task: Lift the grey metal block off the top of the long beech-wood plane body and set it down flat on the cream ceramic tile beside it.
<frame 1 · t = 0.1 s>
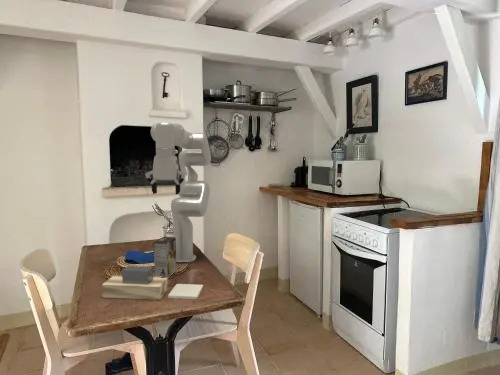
hand: (166, 193, 142), 37 cm above the table, tool pointing down, fingers open, 9 cm apart
grey metal block: (138, 281, 129), point 5 cm above the table, touching plane body
coffee box: (165, 275, 149), on the table
plane body: (135, 293, 130), on the table
tile: (186, 292, 131), on the table
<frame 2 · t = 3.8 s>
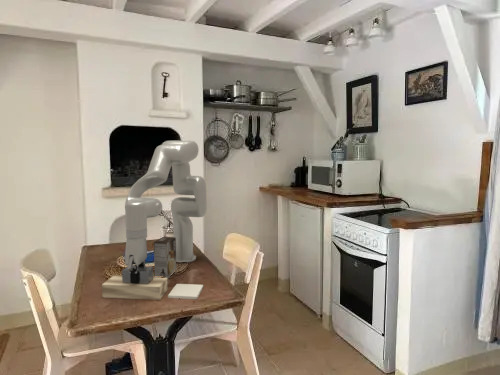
hand: (138, 279, 129), 6 cm above the table, tool pointing down, fingers closed on grey metal block, 5 cm apart
grey metal block: (138, 281, 129), point 5 cm above the table, touching gripper, plane body
everything else where it was.
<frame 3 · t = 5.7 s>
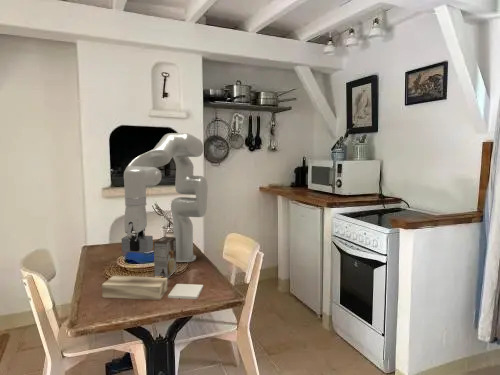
hand: (137, 248, 128), 18 cm above the table, tool pointing down, fingers closed on grey metal block, 5 cm apart
grey metal block: (137, 249, 128), point 17 cm above the table, touching gripper
everything else where it was.
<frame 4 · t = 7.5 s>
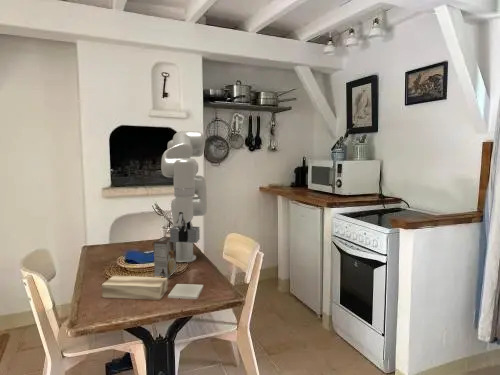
hand: (185, 239, 129), 21 cm above the table, tool pointing down, fingers closed on grey metal block, 5 cm apart
grey metal block: (185, 240, 129), point 21 cm above the table, touching gripper
everything else where it was.
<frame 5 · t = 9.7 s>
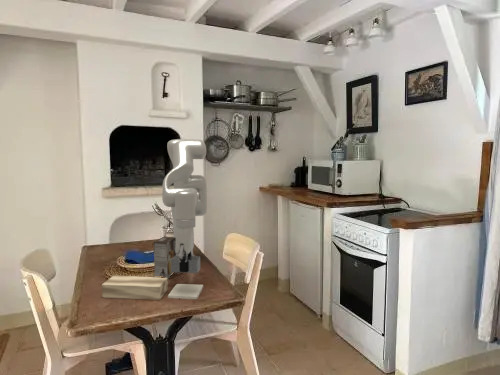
hand: (186, 268, 130), 10 cm above the table, tool pointing down, fingers closed on grey metal block, 5 cm apart
grey metal block: (186, 270, 130), point 9 cm above the table, touching gripper
everything else where it was.
when the fingers open (3 cm above the table, at t = 11.4 s): grey metal block drops 1 cm, resting on tile.
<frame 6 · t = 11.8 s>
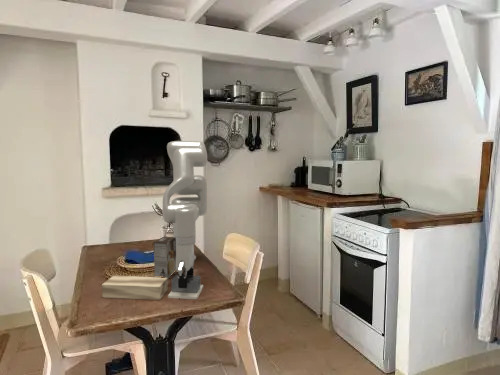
hand: (186, 282, 131), 4 cm above the table, tool pointing down, fingers open, 9 cm apart
grey metal block: (186, 289, 131), point 1 cm above the table, touching tile
everything else where it was.
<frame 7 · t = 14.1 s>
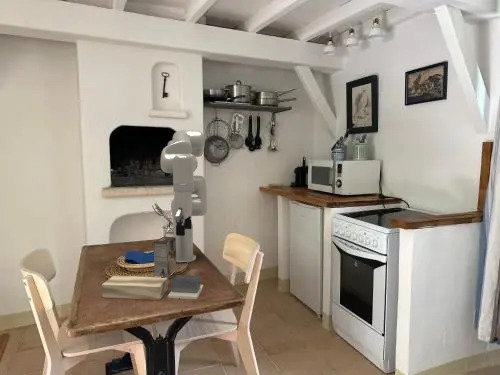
hand: (184, 232, 129), 24 cm above the table, tool pointing down, fingers open, 9 cm apart
nothing on the table moved.
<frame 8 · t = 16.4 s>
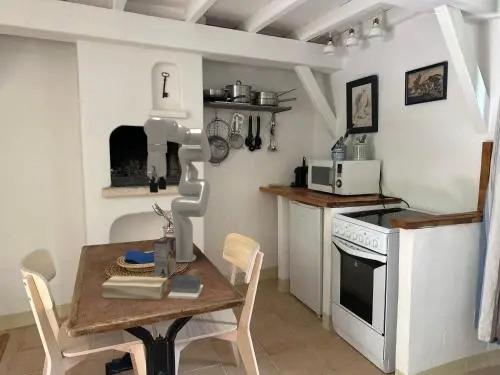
hand: (158, 191, 138), 38 cm above the table, tool pointing down, fingers open, 9 cm apart
nothing on the table moved.
at the end: grey metal block inside the target area on the tile (0.0 cm from its centre), point 1.0 cm above the tile's base; grey metal block tilted 0°; the gripper is holding nothing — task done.
